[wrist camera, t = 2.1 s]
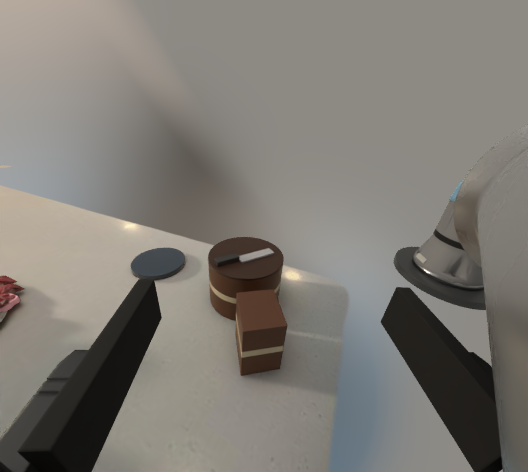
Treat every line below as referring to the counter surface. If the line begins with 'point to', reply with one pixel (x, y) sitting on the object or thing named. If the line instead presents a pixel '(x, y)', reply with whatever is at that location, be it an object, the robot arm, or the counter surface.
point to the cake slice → (259, 331)
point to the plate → (158, 263)
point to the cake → (242, 271)
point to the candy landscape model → (8, 295)
